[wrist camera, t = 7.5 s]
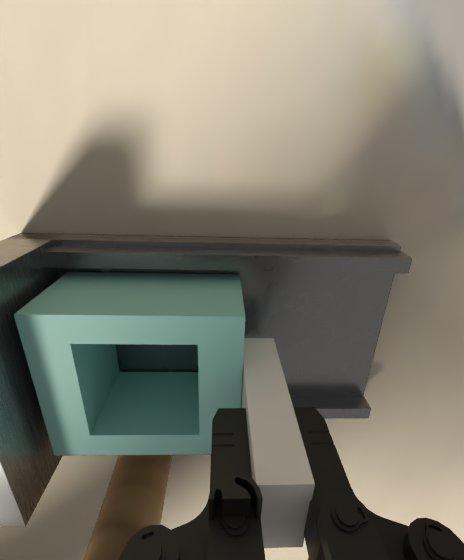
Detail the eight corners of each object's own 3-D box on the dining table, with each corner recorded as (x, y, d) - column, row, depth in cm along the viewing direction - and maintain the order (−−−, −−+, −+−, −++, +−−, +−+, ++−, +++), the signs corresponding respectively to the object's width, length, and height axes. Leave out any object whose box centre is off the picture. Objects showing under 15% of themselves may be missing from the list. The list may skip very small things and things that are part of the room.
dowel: (127, 458, 21) (19, 809, 10) (122, 423, 19) (-9, 782, 8) (174, 458, 21) (121, 805, 10) (172, 423, 20) (108, 776, 9)
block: (90, 389, 17) (54, 455, 13) (68, 271, 14) (13, 314, 10) (234, 389, 17) (238, 454, 13) (239, 274, 14) (245, 316, 11)
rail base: (60, 395, 18) (-27, 527, 12) (20, 233, 14) (-142, 299, 8) (353, 395, 19) (420, 519, 13) (390, 240, 15) (515, 306, 9)
